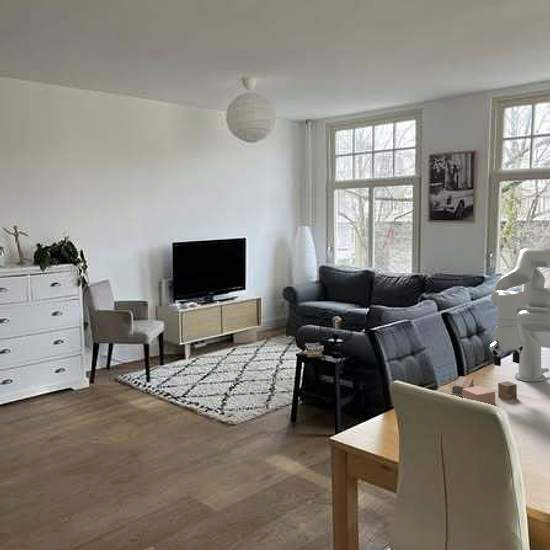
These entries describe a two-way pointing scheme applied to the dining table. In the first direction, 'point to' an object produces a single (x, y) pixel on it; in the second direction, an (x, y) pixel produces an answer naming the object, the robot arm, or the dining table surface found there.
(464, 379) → the packaged product
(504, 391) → the walnut block
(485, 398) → the base block
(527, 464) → the dining table surface
